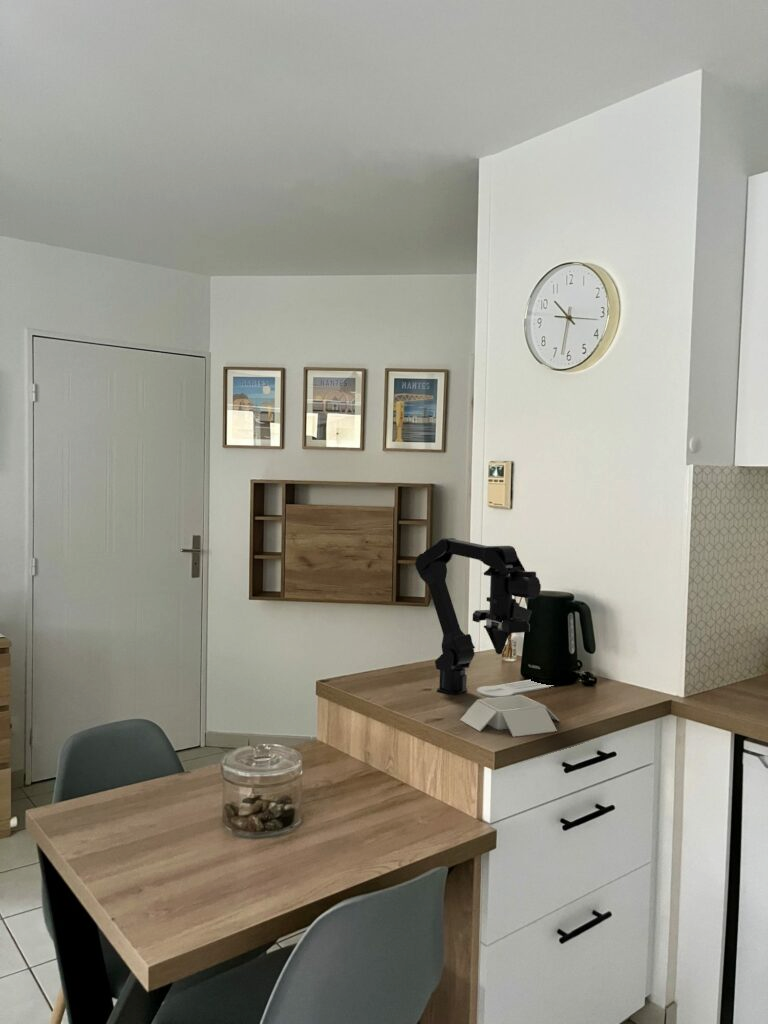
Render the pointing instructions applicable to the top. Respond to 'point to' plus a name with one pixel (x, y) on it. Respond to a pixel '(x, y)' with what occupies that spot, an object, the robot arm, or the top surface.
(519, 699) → the carton
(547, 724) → the panel
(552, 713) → the flap
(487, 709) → the flap
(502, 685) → the white pronged spatula
